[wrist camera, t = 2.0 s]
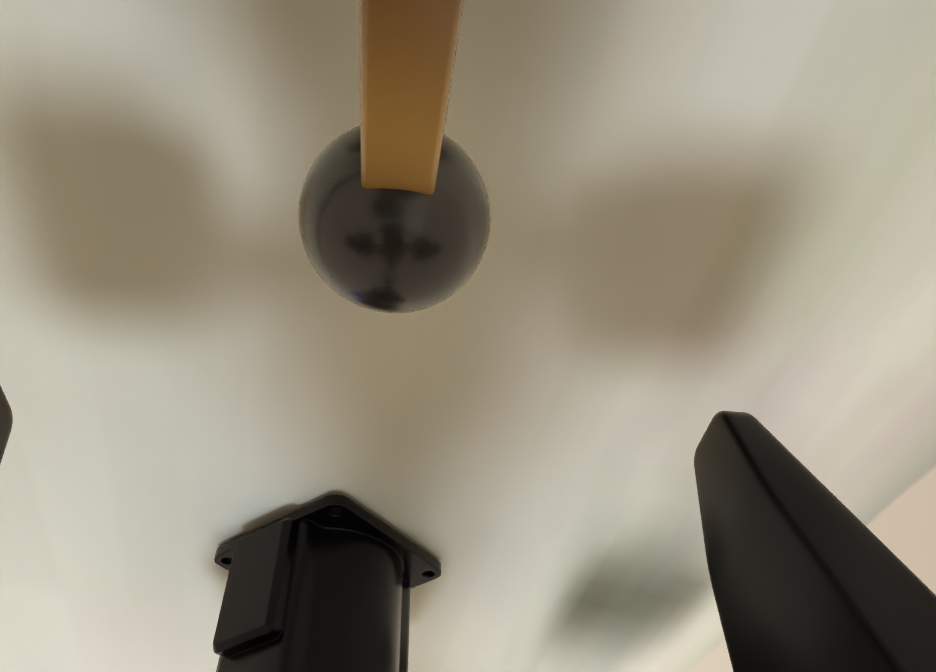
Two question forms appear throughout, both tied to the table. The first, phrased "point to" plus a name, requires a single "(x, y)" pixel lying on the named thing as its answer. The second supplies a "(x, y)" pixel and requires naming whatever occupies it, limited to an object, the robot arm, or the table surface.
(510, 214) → the table surface
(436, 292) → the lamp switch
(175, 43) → the table surface
